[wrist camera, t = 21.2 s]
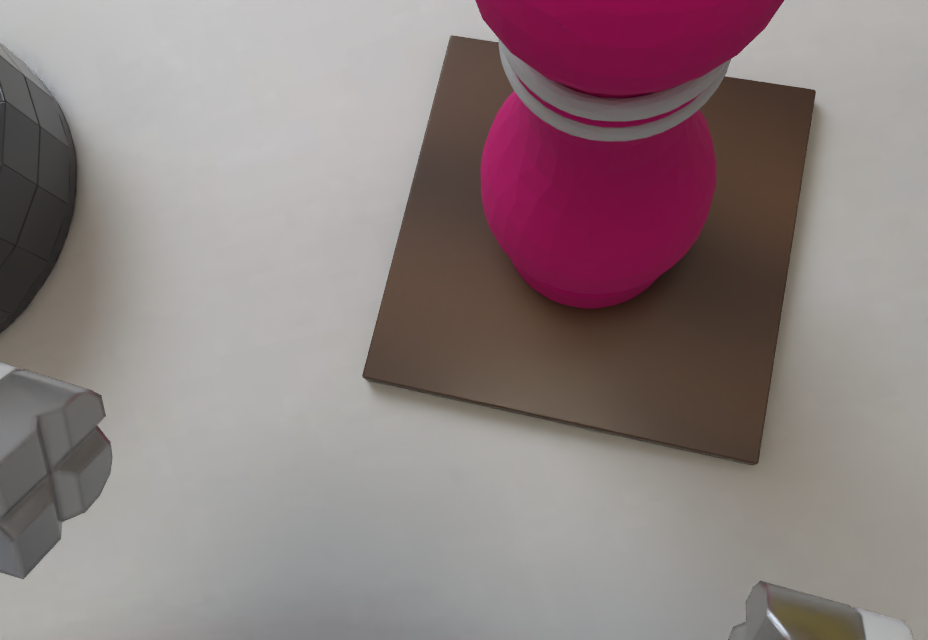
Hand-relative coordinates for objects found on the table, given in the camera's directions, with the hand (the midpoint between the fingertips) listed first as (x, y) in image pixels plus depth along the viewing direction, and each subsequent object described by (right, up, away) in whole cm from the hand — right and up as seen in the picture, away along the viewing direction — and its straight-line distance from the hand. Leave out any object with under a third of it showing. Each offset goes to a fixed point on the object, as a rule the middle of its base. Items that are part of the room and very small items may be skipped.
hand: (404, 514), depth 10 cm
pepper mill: (+5, +6, +20) cm, 21 cm away
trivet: (+5, +5, +20) cm, 22 cm away
